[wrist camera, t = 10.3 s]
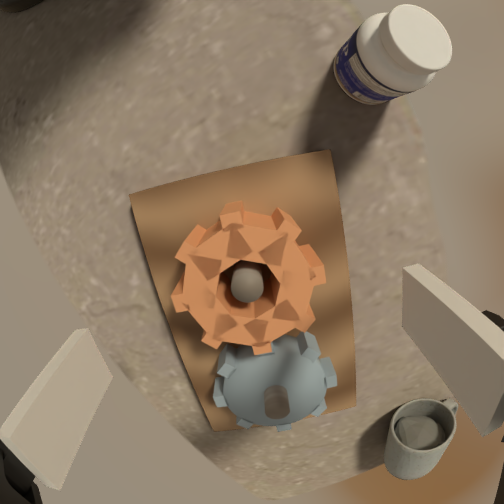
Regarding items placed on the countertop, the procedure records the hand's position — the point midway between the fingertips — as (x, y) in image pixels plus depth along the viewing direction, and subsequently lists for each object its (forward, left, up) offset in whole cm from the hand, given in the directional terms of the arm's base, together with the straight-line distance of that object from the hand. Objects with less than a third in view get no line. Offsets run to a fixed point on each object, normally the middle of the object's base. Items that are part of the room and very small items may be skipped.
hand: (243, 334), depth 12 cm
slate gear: (+10, 0, -10) cm, 15 cm away
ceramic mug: (+24, +15, -12) cm, 31 cm away
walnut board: (+5, 0, -12) cm, 13 cm away
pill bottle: (-12, +12, -12) cm, 20 cm away
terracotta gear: (+1, 0, -10) cm, 10 cm away
